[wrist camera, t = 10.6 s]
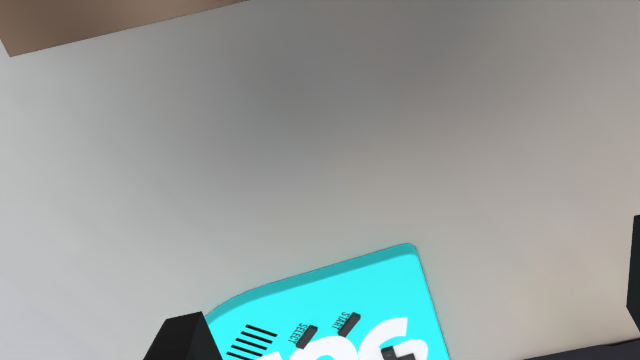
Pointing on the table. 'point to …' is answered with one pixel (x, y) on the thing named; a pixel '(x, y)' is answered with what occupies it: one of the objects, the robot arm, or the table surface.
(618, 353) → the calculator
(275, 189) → the table surface
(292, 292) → the handheld game console
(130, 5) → the track board
